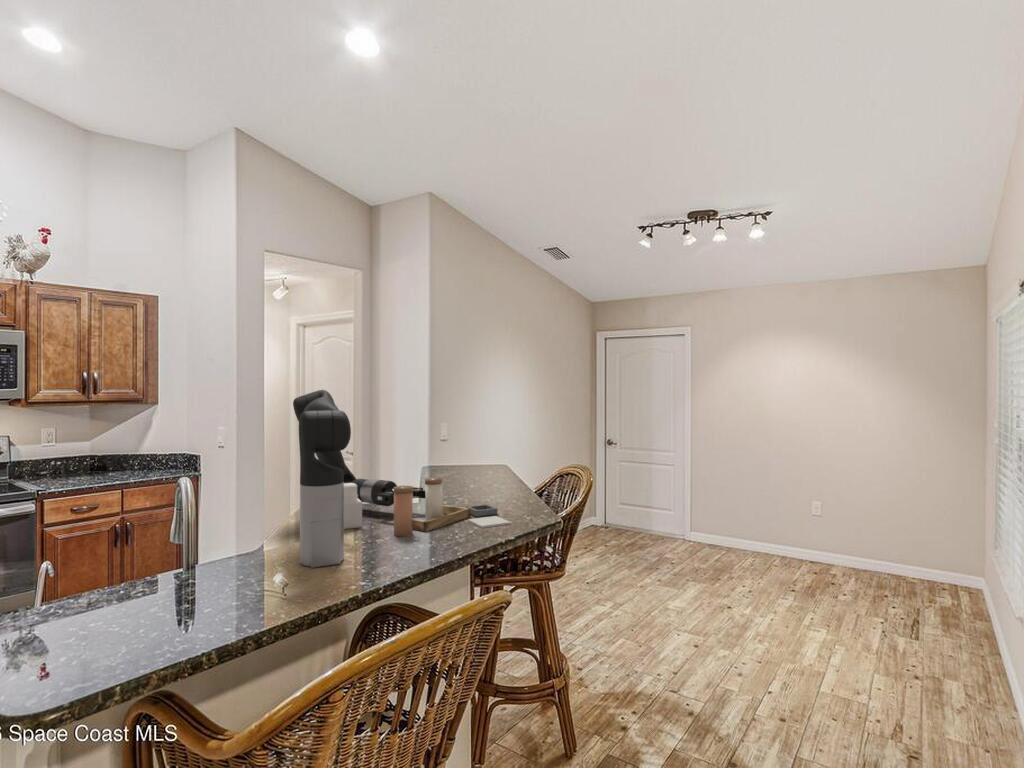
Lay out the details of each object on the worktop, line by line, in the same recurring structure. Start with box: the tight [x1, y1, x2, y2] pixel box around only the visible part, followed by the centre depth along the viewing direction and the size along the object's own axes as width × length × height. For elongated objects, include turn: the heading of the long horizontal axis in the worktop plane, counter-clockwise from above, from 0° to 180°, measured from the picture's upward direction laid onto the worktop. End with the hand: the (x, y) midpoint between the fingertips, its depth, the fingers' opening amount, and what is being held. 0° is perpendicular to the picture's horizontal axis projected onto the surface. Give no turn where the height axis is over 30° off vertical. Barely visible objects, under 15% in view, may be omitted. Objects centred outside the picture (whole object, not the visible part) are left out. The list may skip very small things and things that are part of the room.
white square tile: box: [467, 515, 512, 529], centre depth 163 cm, size 9×9×1 cm
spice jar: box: [424, 476, 444, 521], centre depth 165 cm, size 5×5×12 cm
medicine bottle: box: [344, 482, 363, 530], centre depth 160 cm, size 7×7×12 cm
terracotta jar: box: [393, 485, 414, 537], centre depth 151 cm, size 5×5×12 cm
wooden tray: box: [412, 504, 471, 532], centre depth 164 cm, size 10×20×2 cm, turn 149°
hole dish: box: [465, 503, 498, 518], centre depth 174 cm, size 7×7×2 cm
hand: (419, 497), depth 167 cm, fingers open, 8 cm apart
